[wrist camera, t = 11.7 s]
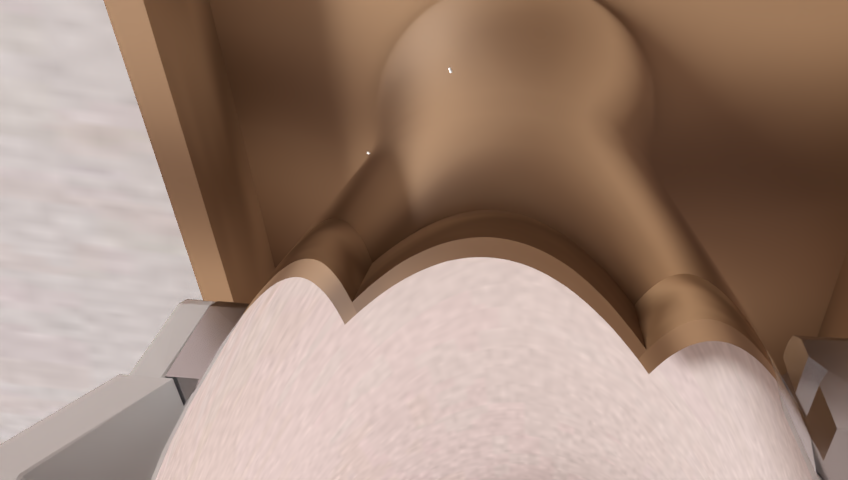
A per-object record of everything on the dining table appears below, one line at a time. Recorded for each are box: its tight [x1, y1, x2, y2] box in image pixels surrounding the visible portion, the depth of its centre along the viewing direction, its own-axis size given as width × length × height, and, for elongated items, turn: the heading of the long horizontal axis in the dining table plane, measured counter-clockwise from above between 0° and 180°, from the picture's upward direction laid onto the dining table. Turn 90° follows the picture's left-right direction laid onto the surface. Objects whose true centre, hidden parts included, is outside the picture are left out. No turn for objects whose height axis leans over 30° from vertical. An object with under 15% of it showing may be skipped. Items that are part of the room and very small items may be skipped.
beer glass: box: [142, 0, 831, 480], centre depth 10 cm, size 7×7×15 cm
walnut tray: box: [104, 0, 848, 375], centre depth 15 cm, size 16×16×4 cm
